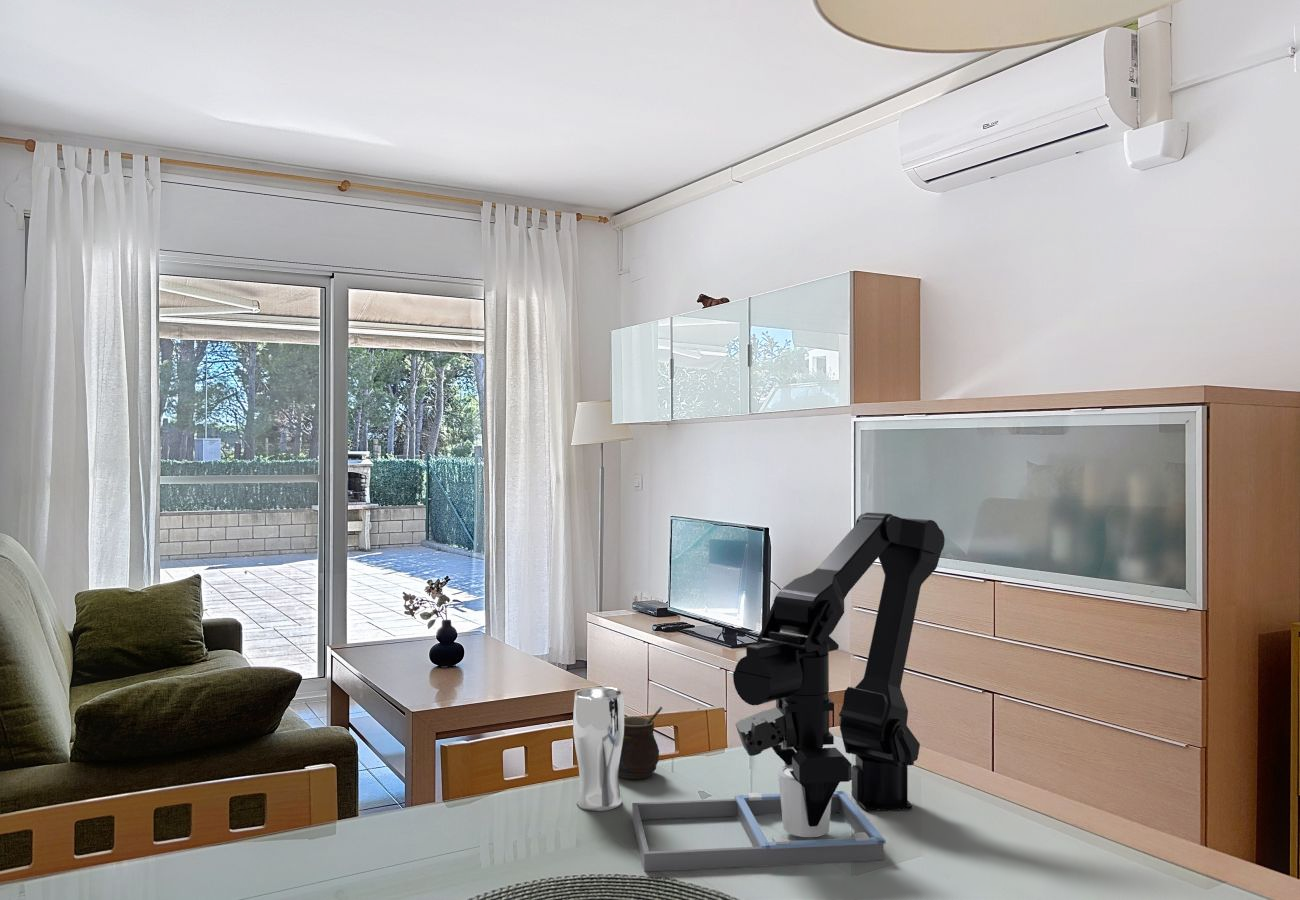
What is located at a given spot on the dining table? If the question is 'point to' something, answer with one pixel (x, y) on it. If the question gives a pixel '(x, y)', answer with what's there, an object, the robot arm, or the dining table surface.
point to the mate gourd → (639, 748)
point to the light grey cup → (798, 807)
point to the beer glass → (598, 746)
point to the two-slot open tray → (756, 835)
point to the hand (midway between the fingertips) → (805, 815)
